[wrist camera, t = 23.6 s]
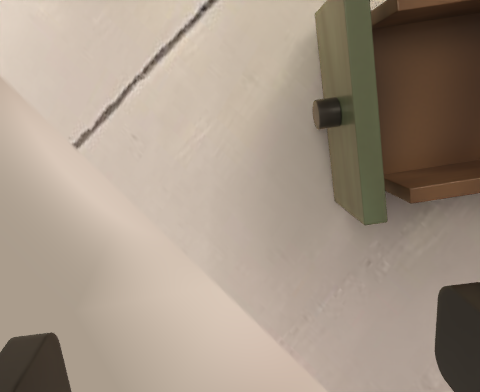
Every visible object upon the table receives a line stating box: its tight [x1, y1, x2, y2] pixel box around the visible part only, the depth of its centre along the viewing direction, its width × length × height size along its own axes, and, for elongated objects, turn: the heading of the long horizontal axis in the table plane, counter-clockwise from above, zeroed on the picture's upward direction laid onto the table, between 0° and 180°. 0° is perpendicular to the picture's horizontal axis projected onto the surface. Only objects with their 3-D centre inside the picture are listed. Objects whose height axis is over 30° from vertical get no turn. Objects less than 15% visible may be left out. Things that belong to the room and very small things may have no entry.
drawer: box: [313, 0, 480, 225], centre depth 23 cm, size 16×11×6 cm
